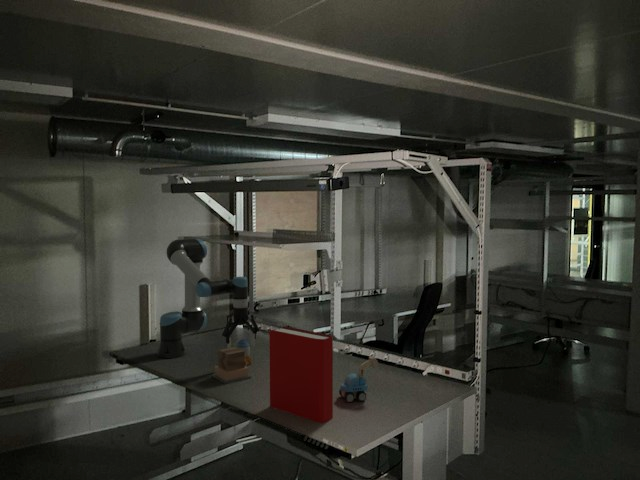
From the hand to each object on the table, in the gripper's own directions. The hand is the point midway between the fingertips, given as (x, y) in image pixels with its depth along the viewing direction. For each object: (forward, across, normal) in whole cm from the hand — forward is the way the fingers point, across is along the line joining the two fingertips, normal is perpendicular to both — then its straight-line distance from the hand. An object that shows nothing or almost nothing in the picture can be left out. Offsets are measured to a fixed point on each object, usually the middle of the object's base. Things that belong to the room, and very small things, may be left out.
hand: (241, 347), depth 262 cm
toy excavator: (+11, +19, -70) cm, 74 cm away
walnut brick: (+5, -12, -12) cm, 18 cm away
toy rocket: (+10, 0, 0) cm, 10 cm away
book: (+11, -9, -68) cm, 69 cm away
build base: (+10, -12, -12) cm, 20 cm away
